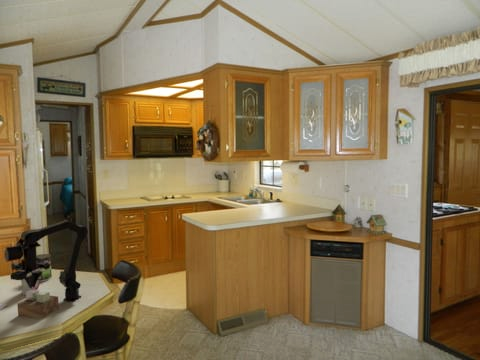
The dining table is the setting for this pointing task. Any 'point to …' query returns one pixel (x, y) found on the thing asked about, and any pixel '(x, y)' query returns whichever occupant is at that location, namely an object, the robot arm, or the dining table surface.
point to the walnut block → (37, 308)
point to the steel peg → (31, 295)
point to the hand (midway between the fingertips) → (32, 287)
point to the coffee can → (45, 273)
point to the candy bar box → (25, 286)
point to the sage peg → (43, 296)
